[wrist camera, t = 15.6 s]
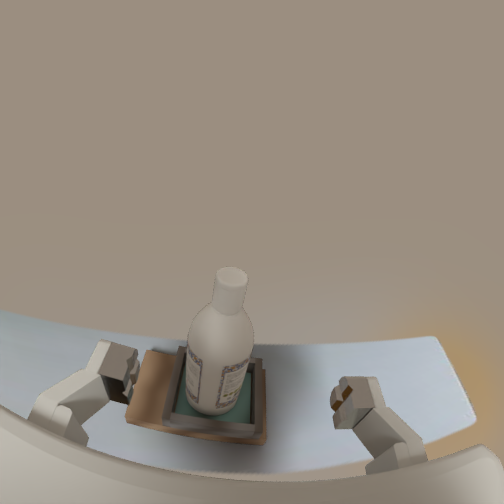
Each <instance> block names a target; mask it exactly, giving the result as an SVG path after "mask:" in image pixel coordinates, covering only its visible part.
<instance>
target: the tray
mask: <svg viewBox="0 0 504 504" xmlns="http://www.w3.org/2000/svg"><path fill="white" fill-rule="evenodd" d="M186 361H187V347H183V346H179V348H178V352H177V355H176V356H174V355H169V354H164V353H159V352H155V351H150V350H146V353H145V356H144V359H143V362H142V365H141V368H140V371H139V377H138V380H137V383H136V384H135V385H134V389H133V391H134V393H133V396H132V399H131V402H130V405H128V407H127V411H126V414H125V418H126V421H127V423H130V424H134V425H138V426H142V427H145V428H150V429H154V430H158V431H163V432H167V433H172V434H177V435H182V436H188V437H194V438H200V439H207V440H214V441H221V442H230V443H240V444H252V445H264V443H265V441H266V386H265V370H264V369H262V359H260V358H252V357H250V360H249V363H248V367H247V370H246V373H245V377H244V380H243V383H242V386H241V390H240V393H239V396H238V399H237V402H236V404H235V406H234V407H233V408H232V409H231V410H230V411H228V412H227V413H225V414H222V415H217V416H210V415H205V414H202V413H200V412H198V411H196V410H195V409H194V408H193V407H192V406H191V405H190V404H189V402H188V400H187V398H186Z"/></svg>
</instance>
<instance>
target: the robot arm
mask: <svg viewBox="0 0 504 504" xmlns="http://www.w3.org/2000/svg"><path fill="white" fill-rule="evenodd" d="M137 357H138V350H137V349H135V348H131V347H128V346H124V345H121V344H117V343H114V342H110V341H107V340H103V339H101V340H100V341H99V342H98V344H97V346H96V348H95V350H94V352H93V354H92V356H91V358H90V360H89V362H88V364H87V366H86V368H85V370H84V369H80V370H79V371H77V372H75V373H74V374H72V375H71V376H69V377H67V378H66V379H64V380H62V381H61V382H59V383H57V384H56V385H54V386H52V387H51V388H49V389H47V390H46V391H44V392H42V393H41V394H39V396H38V398H37V400H36V402H35V404H34V406H33V409H32V411H31V413H30V415H29V417H28V419H27V420H26V419H25V418H23V417H21V416H19V415H17V414H16V413H14V412H12V411H10V410H9V409H7V408H5V407H4V406H2V405H0V504H504V470H503V467H502V464H501V461H500V460H499V458H498V457H497V456H496V455H495V454H494V453H493V452H492V451H491V450H490V449H489V448H488V447H486V446H485V445H483V444H477V445H474V446H472V447H469V448H466V449H464V450H461V451H458V452H456V453H453V454H450V455H447V456H444V457H441V458H438V459H434V460H431V461H428V459H427V455H426V452H425V448H424V445H423V442H422V438H421V437H420V436H419V435H418V434H417V433H416V432H415V431H413V430H412V429H411V428H410V427H409V426H408V425H407V424H406V423H405V422H404V421H403V420H402V419H401V418H400V417H399V416H398V415H397V414H396V413H395V412H394V411H392V410H391V409H390V408H389V407H386V405H385V402H384V398H383V395H382V392H381V389H380V386H379V383H378V380H377V378H376V377H346V376H344V377H342V378H341V379H340V380H339V385H338V386H336V387H335V388H334V389H333V391H332V392H331V397H330V405H331V408H332V409H333V410H334V411H335V413H334V415H333V422H334V428H335V429H352V430H353V432H354V433H355V434H356V436H357V437H358V438H359V439H360V441H361V442H362V443H363V445H364V446H365V447H366V448H367V450H368V451H369V452H370V454H371V455H372V456H373V457H374V460H372V461H371V462H370V463H368V464H367V465H366V467H365V469H366V475H363V476H356V477H349V478H341V479H330V480H318V481H298V482H263V481H243V480H230V479H221V478H212V477H204V476H198V475H191V474H185V473H180V472H174V471H169V470H164V469H160V468H155V467H151V466H147V465H143V464H139V463H135V462H132V461H128V460H125V459H121V458H118V457H115V456H112V455H109V454H106V453H103V452H100V451H97V450H94V449H91V448H89V447H86V446H87V442H88V439H89V437H88V435H87V433H86V432H85V431H84V429H83V428H82V426H81V425H82V424H83V423H84V422H85V421H87V420H88V419H89V418H90V417H91V416H93V415H94V414H95V413H96V412H97V411H99V410H100V409H101V408H102V407H103V406H105V405H106V404H107V403H108V402H109V401H110V400H112V401H115V402H119V403H123V404H127V405H130V402H131V399H132V396H133V393H134V391H133V385H134V384H136V383H137V380H138V377H139V371H140V364H139V361H138V360H137Z"/></svg>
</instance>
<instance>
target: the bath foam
mask: <svg viewBox="0 0 504 504" xmlns="http://www.w3.org/2000/svg"><path fill="white" fill-rule="evenodd" d="M247 284H248V276H247V274H246V273H245V272H244V271H243V270H241V269H238V268H235V267H224V268H221V269H219V270H218V271H217V273H216V276H215V282H214V289H213V298H212V302H210V303H209V304H208V305H206V306H205V307H204V308H203V309H202V310H201V311H200V312H199V313H198V314H197V315H196V317H195V318H194V320H193V322H192V324H191V327H190V330H189V334H188V341H187V361H186V398H187V400H188V402H189V404H190V405H191V406H192V407H193V408H194V409H195V410H196V411H198V412H200V413H202V414H205V415H210V416H217V415H222V414H225V413H227V412H228V411H230V410H231V409H232V408H233V407H234V406H235V404H236V402H237V399H238V396H239V393H240V390H241V386H242V383H243V380H244V377H245V373H246V370H247V367H248V363H249V360H250V357H251V353H252V350H253V344H254V332H253V327H252V324H251V321H250V319H249V317H248V316H247V314H246V312H245V310H244V309H243V307H242V306H243V302H244V298H245V294H246V289H247Z"/></svg>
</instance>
